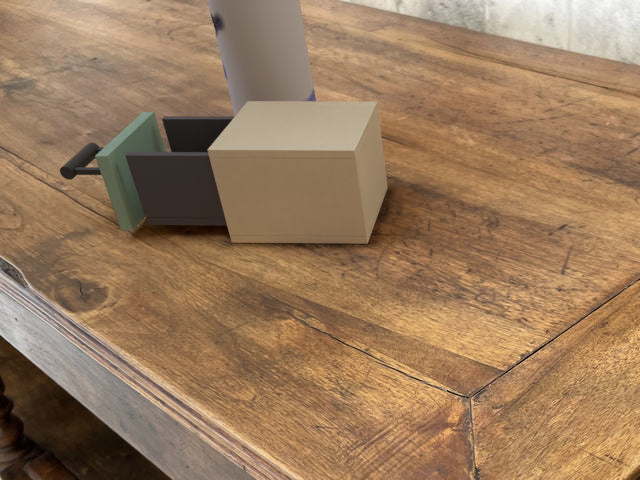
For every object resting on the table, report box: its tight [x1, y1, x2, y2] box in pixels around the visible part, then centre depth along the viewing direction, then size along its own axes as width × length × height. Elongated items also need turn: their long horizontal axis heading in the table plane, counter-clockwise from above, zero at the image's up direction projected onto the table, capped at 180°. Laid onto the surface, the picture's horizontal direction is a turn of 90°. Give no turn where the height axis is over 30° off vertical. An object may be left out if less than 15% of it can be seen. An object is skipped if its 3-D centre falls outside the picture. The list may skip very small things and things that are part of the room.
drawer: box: [59, 111, 235, 232], centre depth 81 cm, size 18×11×8 cm, turn 88°
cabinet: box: [208, 100, 388, 245], centre depth 80 cm, size 14×13×10 cm
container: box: [207, 0, 317, 116], centre depth 94 cm, size 10×10×20 cm
